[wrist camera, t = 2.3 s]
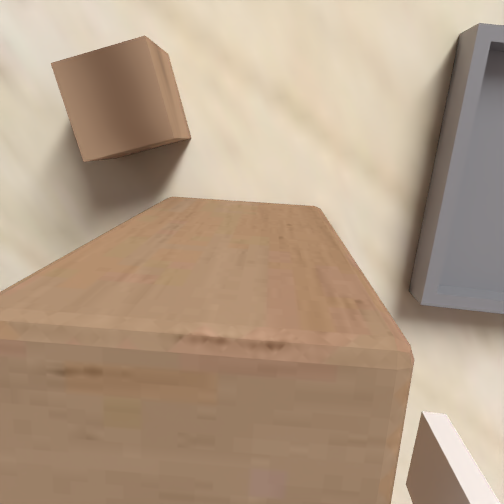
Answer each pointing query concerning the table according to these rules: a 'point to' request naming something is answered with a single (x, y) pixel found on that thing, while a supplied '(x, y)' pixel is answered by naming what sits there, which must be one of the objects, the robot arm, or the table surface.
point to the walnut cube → (121, 99)
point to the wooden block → (202, 366)
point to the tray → (467, 185)
